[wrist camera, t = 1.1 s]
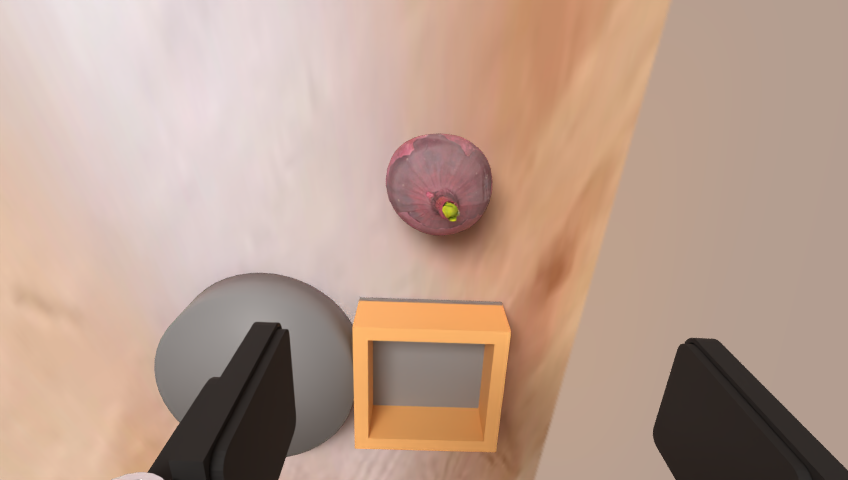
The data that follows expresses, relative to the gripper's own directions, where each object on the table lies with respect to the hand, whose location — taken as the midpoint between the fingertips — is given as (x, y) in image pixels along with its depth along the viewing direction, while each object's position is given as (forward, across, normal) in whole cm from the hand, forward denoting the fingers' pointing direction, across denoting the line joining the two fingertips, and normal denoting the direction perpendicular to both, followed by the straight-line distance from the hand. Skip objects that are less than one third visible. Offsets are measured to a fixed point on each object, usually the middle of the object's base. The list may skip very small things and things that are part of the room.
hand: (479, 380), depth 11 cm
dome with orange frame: (+21, +7, +15) cm, 27 cm away
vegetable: (+21, 0, 0) cm, 21 cm away
